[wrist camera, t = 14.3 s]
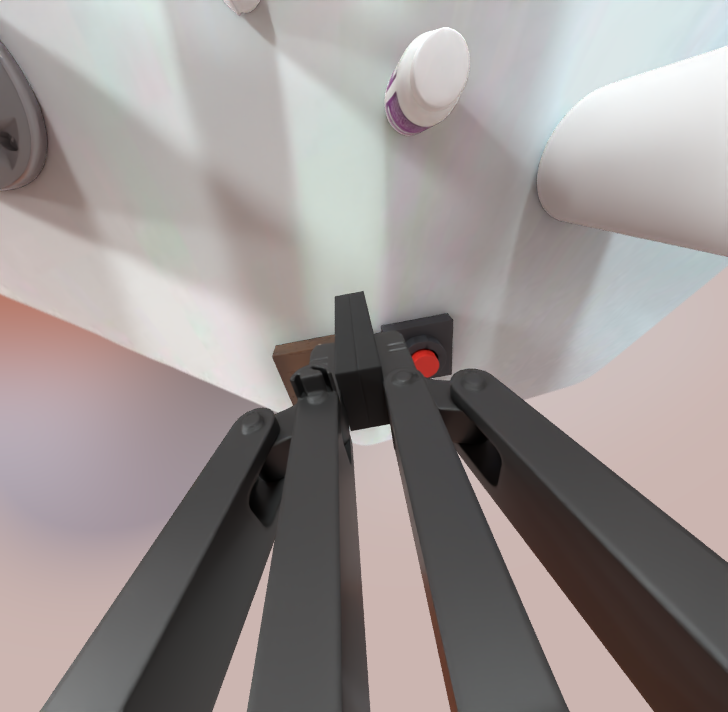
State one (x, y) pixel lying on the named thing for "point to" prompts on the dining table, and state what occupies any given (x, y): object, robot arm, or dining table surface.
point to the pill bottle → (427, 81)
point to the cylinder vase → (647, 157)
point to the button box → (429, 338)
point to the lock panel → (295, 359)
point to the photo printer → (242, 5)
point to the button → (425, 362)
